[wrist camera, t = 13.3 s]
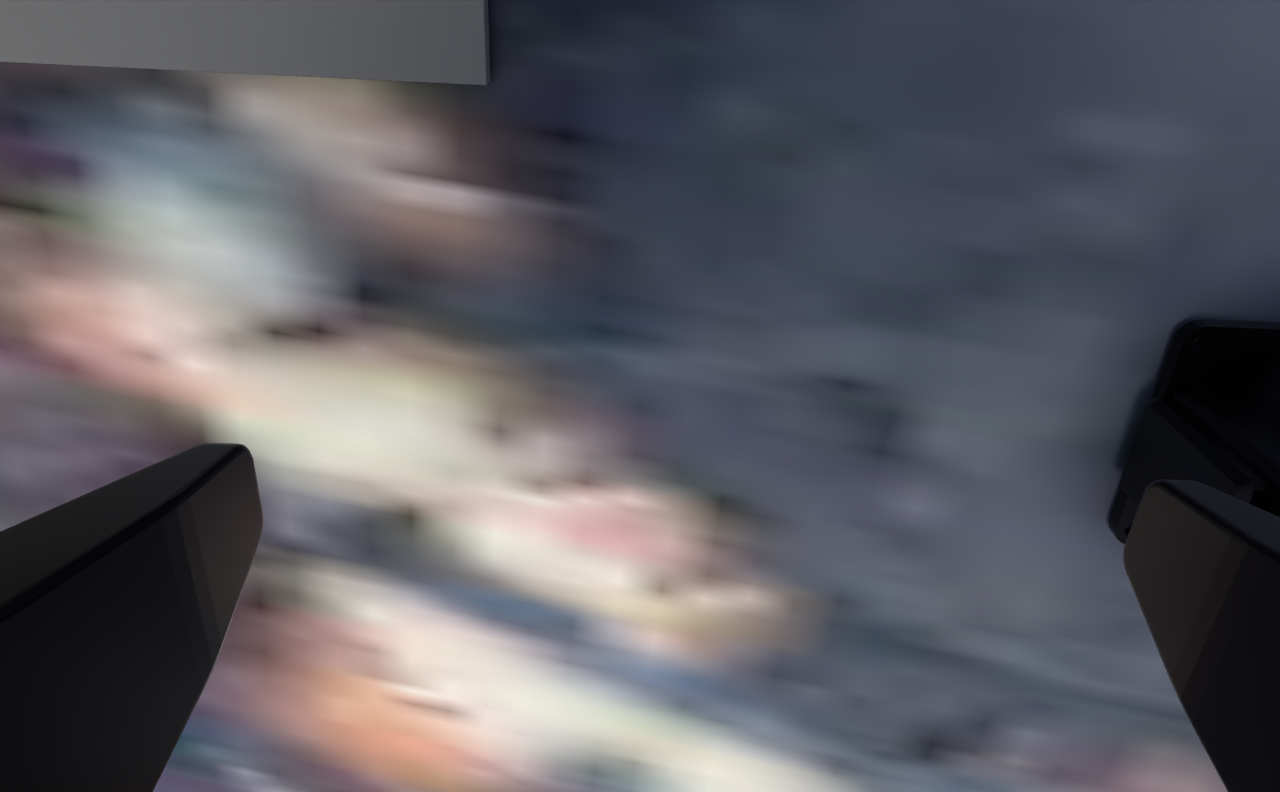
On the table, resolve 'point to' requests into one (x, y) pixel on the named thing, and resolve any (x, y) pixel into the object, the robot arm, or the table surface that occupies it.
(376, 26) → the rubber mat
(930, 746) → the table surface
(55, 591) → the robot arm
